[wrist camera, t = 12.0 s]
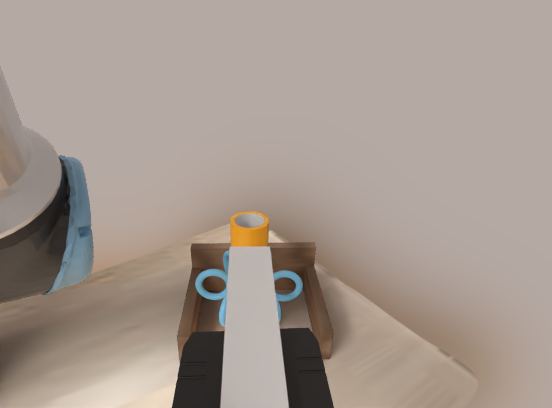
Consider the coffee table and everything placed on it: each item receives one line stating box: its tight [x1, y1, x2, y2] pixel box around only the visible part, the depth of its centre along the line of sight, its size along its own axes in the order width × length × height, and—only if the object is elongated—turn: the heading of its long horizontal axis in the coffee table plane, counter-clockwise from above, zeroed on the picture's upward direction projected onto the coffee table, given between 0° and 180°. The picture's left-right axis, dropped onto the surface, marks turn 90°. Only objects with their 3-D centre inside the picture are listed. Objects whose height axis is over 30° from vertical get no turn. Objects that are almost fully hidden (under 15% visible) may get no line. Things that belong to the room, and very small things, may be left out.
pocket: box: [177, 242, 333, 361], centre depth 44 cm, size 16×13×7 cm
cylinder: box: [195, 211, 303, 329], centre depth 41 cm, size 12×10×15 cm
